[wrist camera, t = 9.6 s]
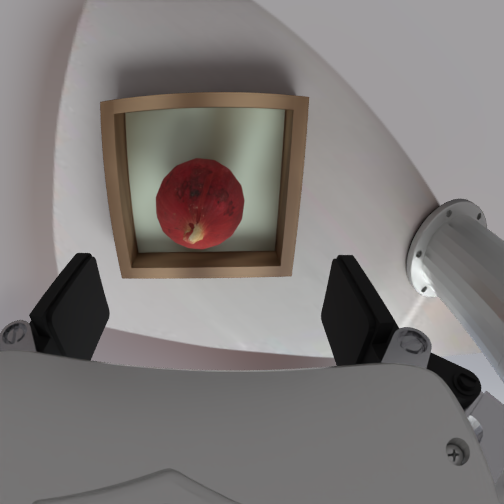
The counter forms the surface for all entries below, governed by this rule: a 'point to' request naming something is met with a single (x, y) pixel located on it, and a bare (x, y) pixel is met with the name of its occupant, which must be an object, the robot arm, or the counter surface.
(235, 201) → the dark red round piece
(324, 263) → the counter surface
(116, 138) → the tray
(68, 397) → the robot arm
